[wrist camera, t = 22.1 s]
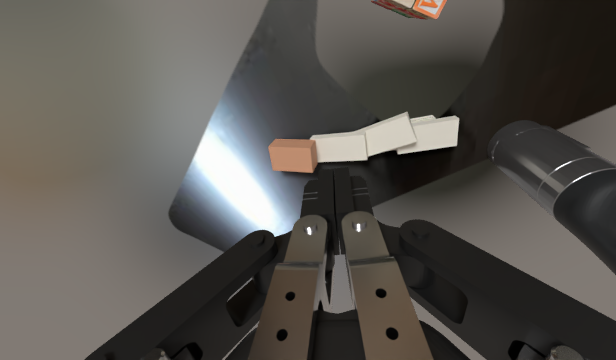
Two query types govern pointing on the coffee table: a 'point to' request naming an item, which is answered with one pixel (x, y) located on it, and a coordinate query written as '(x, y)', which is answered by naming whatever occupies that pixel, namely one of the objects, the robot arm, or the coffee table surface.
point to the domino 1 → (293, 155)
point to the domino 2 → (341, 146)
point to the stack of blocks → (414, 7)
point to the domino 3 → (389, 134)
